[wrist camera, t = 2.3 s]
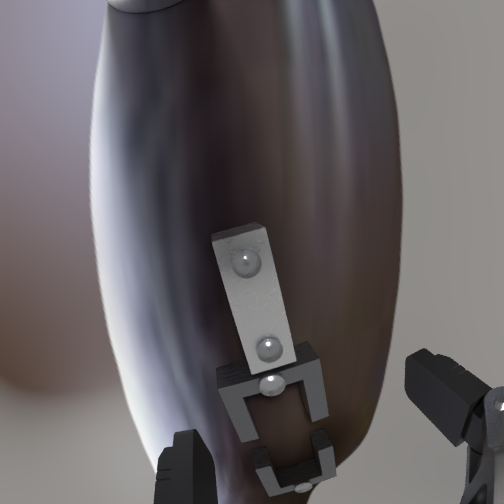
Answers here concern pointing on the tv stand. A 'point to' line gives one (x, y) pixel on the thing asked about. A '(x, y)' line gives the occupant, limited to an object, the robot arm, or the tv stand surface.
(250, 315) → the bolted link plate
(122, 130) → the tv stand surface
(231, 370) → the end link
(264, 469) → the end link
